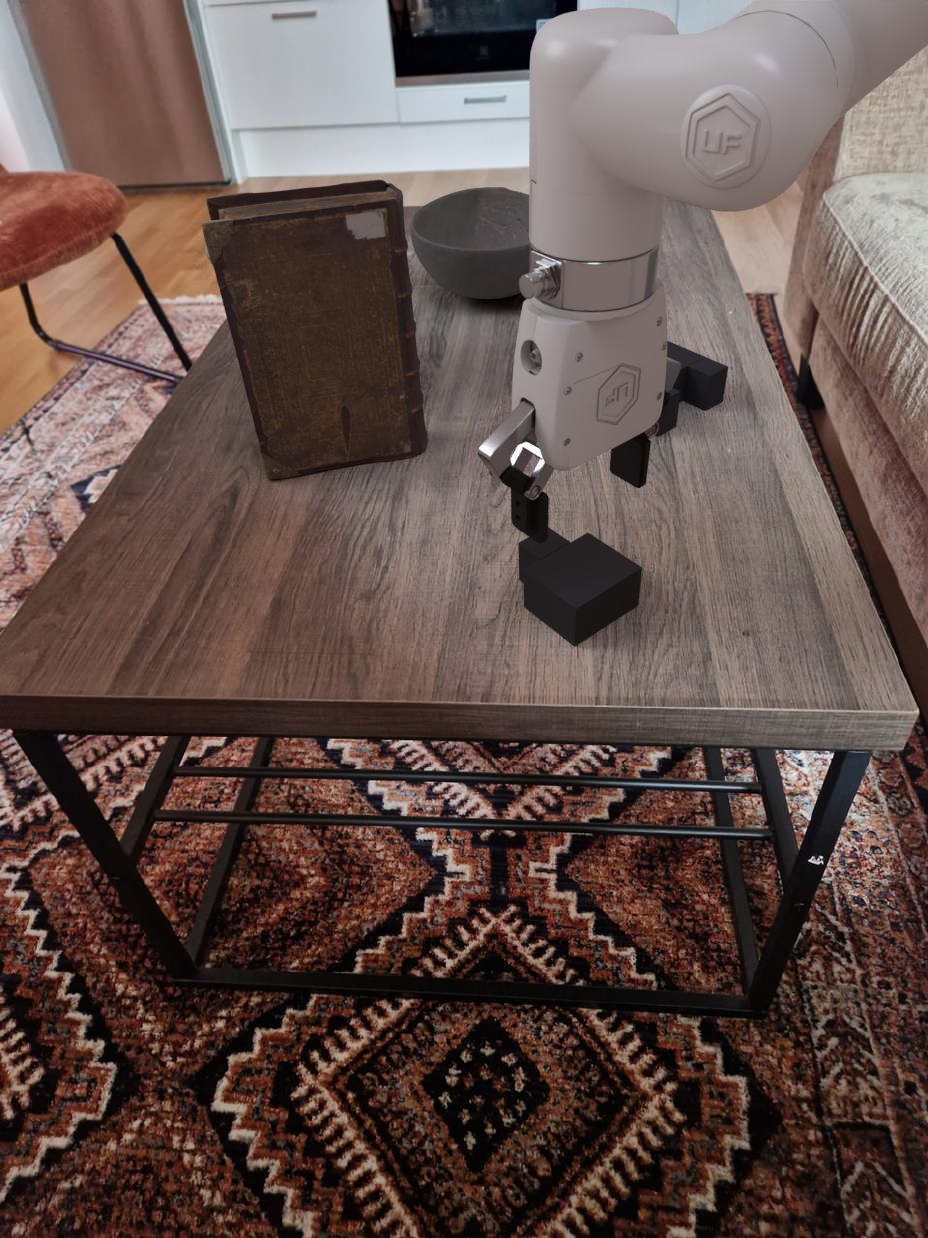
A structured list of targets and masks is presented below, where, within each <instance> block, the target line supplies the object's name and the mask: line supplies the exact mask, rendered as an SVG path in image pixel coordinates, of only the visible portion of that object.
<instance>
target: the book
mask: <svg viewBox="0 0 928 1238" xmlns="http://www.w3.org/2000/svg"><path fill="white" fill-rule="evenodd" d="M206 207H207V211H208V215H209V219H210V220H206V221H203V222H201V228H202V234H203V238H204V242H205V247H206V246H207V250H208V254H209V257H210V260H209V262H210V264H211V265H212V264H213V265H212V268H213V267H214V268H213V271H214V270H215V271H214V273H215V278H216V282H217V286H218V290H219V293H220V296H221V301H222V304H223V308H224V313H225V316H226V320H227V323H228V327H229V333H230V336H231V340H232V342H233V347H234V350H235V354H236V358H237V361H238V365H239V366H238V367H239V370H240V374H241V377H242V382H243V385H244V390H245V394H246V398H247V402H248V406H249V409H250V414H251V417H252V422H253V425H254V426H253V427H254V429H255V430H254V431H255V433H256V438H257V440H258V444H259V451H260V455H261V460H262V463H263V467H264V471H265V475H266V478H267V480H270V481H271V480H281V479H288V478H295V477H299V476H302V475H309V474H311V473H316V472H322V471H327V470H328V471H329V470H333V469H338V468H341V467H342V468H343V467H348V466H349V467H350V466H355V465H361V464H366V463H373V462H391V461H398V460H405V459H409V458H414V457H416V455H417V454H419V453H422V452H423V451H424V450H425V448H426V447H427V444H428V443H427V442H428V438H429V436H428V435H429V434H428V431H427V428H426V422H425V415H424V413H425V412H424V403H425V402H424V393H423V391H422V387H421V375H420V368H421V360H420V359H419V355H418V347H417V336H416V332H417V322H416V320H415V315H414V306H413V295H412V294H413V284H412V282H411V276H410V267H409V258H408V249H409V244H408V239H407V238H406V226H405V213H404V212H405V211H404V194H403V191H402V189H399V188H398V187H397V186H395V184H393V183H391V182H386V181H385V180H383V179H370V180H369V179H368V180H361V181H353V182H352V181H351V182H342V183H337V184H332V185H331V184H330V185H323V186H311V187H309V186H308V187H301V188H293V189H292V188H291V189H283V190H276V191H275V190H273V191H263V192H238V193H237V192H236V193H230V194H229V193H228V194H223V195H215V196H211V197H206Z"/></svg>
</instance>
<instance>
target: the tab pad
mask: <svg viewBox="0 0 928 1238" xmlns="http://www.w3.org/2000/svg"><path fill="white" fill-rule="evenodd" d="M517 549H518V579H519V581H520V582H522V583H523V608H524V609H526V610H527V611H528V612H530V613H531V614H532V615H534V616H535V617H536V618H537V619H539V620H540V621H541V622H543V624H545V625H546V626H547V627H549V628H550V629H552V631H554V632H555V633H557V634H558V635H560V637H562V638H563V639H564V640H566V641H567V642H568V643H569V644H571V645H572V646H574V647H577V646H578V645H580V644H581V643H582V642H584V641H586V640H587V639H589V638H590V637H591V636H593V635H595V634H597V633H598V632H599V631H601V630H602V629H604V628H605V627H607V626H608V625H610V624H611V623H613V622H614V621H615V622H616V620H618V619H619V618H621V617H623V616H624V615H626V614H628V612H630V611H633V609H635V608H637V607H638V606H639V603H640V594H641V586H642V585H641V583H642V576H643V575H642V574H643V567H642V566H641V565H639V564H638V563H636V562H634V561H633V560H631V559H630V558H628V557H627V556H625V555H624V554H622V552H619V551H618V550H616V549H615V548H613V547H612V546H611V545H609V544H607V543H606V542H603V541H602V540H601V539H599V538H597V537H596V536H594V535H593V534H591V533H590V532H586V533H584V534H583V535H580V536H579V537H577V538H576V539H574V540H572V541H570V540H568V539H567V538H565V537H564V536H563V535H561V534H560V533H558V532H557V531H555V530H553V529H552V528H551V527H549V526H548V537H547V540H546V541H544V542H543V543H541V544H539V543H537V542H536V541H534V540H533V539H531V538H530V537H529V536H527V537H526V538H524V539H522V540H521V541H519V542H518V543H517Z"/></svg>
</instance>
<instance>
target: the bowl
mask: <svg viewBox="0 0 928 1238" xmlns="http://www.w3.org/2000/svg"><path fill="white" fill-rule="evenodd" d="M409 230H410V231H409V232H410V239H411V244H412V247H413V250H414V253H415V255H416V257H417V259H418V261H419V263H420V264H421V266H422V267H423V269H424V270H425V272H426V273H427V274H428V275H429V277H430V278H431V279H432V280H433V281H434V282H435V283H436V284H437V285H438V286H440V287H441V288H443V289H444V290H446V291H448V292H449V293H452V294H454V295H457V296H460V297H465V298H469V299H470V298H471V299H477V300H498V299H504V298H510V297H513V296H516V295H519V294H521V292H520V289H519V279H520V277H521V276H522V275H525V274H527V273H529V193H524V192H522V191H517V190H513V189H510V188H507V187H503V186H485V187H473V188H466V189H462V190H458V191H454V192H450V193H447V194H445V195H443V196H440V197H437V198H436V199H433V200H432V201H430V202H428V203H426V204H424V205H423V206H422V207H421V208H419V209H418V210H417V211H416V212H415V213H414V215H413V216H412V218H411V220H410V225H409Z"/></svg>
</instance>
